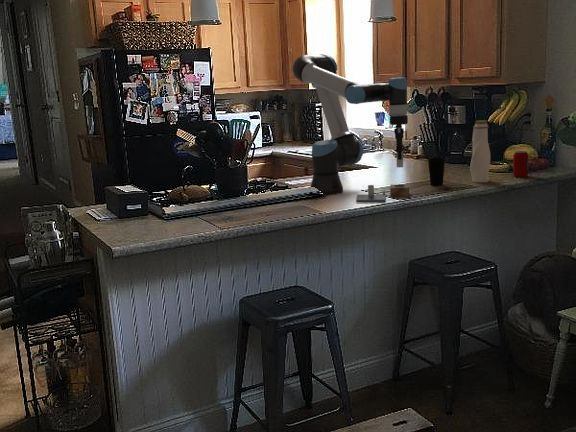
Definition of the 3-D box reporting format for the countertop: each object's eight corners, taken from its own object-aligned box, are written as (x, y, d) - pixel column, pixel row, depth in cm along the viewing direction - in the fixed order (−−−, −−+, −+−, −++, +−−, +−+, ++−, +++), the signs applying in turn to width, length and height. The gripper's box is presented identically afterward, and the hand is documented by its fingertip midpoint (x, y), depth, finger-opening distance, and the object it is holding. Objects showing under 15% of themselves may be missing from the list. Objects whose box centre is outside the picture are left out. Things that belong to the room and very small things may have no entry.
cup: (445, 186, 291) (445, 159, 288) (428, 186, 293) (428, 160, 290) (444, 183, 298) (444, 157, 296) (428, 183, 300) (428, 158, 297)
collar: (390, 197, 273) (390, 187, 272) (390, 193, 281) (390, 184, 280) (409, 196, 272) (409, 187, 271) (409, 193, 280) (408, 184, 279)
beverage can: (531, 176, 302) (531, 151, 300) (519, 178, 300) (520, 152, 297) (521, 174, 308) (521, 150, 306) (509, 176, 306) (510, 151, 303)
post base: (356, 202, 265) (355, 188, 264) (357, 197, 277) (357, 183, 275) (385, 202, 263) (385, 187, 262) (385, 196, 274) (385, 182, 273)
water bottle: (464, 180, 302) (465, 121, 296) (480, 178, 305) (481, 119, 299) (478, 183, 293) (478, 122, 287) (494, 181, 296) (495, 120, 290)
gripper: (408, 116, 256) (409, 168, 261) (407, 112, 280) (408, 160, 285) (389, 117, 257) (390, 169, 262) (389, 113, 281) (391, 161, 286)
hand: (399, 165), depth 273 cm, fingers open, 13 cm apart
